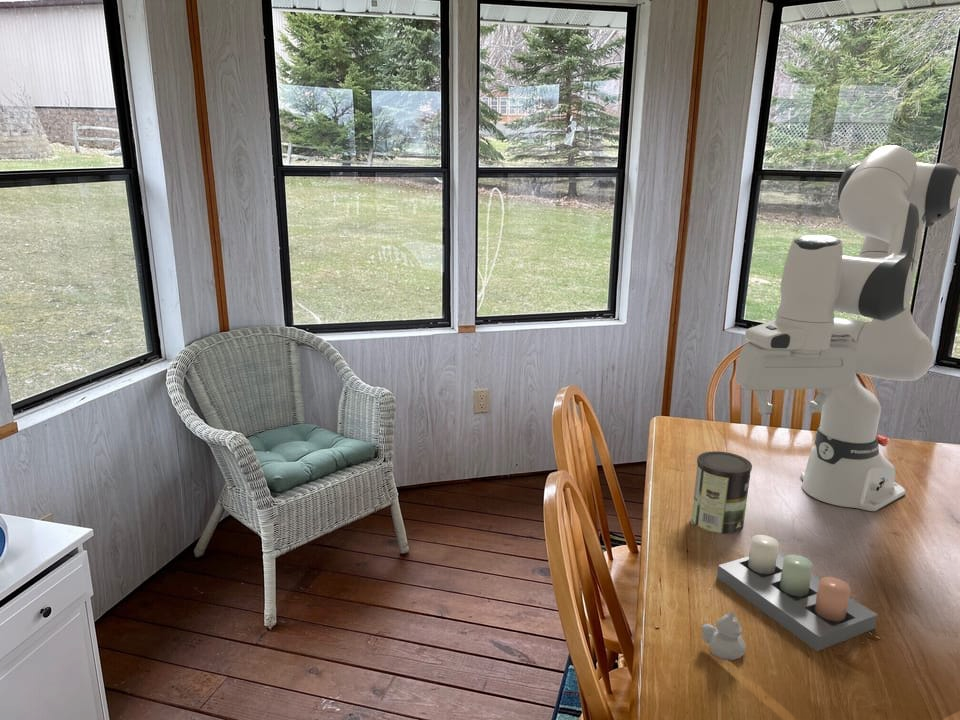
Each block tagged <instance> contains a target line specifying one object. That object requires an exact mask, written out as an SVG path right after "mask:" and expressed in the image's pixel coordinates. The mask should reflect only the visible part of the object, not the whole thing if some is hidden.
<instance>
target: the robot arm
mask: <svg viewBox="0 0 960 720" xmlns="http://www.w3.org/2000/svg"><path fill="white" fill-rule="evenodd" d="M839 179H840V180H839V182H838V184H837V189H836V190H837V191H836V193H837V203H838V211H839V214H840V217H841V218H842V220H843V222H845V224H846V225H847V226H848V227H849V228H850V229H851V230H852V231H854V232H856V233H858V234H860V235H863V236H865V238H864V239H863V242H862V245H861V248H860V251H859V253H858V255H857V256H856V255H849V254H848V255H847V254H844V253H843V251H844V249H843V242H842V241H841V239H839V238H837V237H835V236H833V235H828V234H827V235H826V234H805V235H801V236H798V237H797V238H794V239H793V240H792V242H791V244H790V246H789V249H788V252H787V255H786V258H785V262H784V266H783V270H782V271H783V272H782V275H781V281H780V288H779V289H780V294H781V295H780V296H781V297H780V304H779V306H778V308H777V310H776V315H775V319H772V320H770V321H769V320H768V322H767V321H766V322H764V323H761V324H758V325H755V326H752V327H749V328H746V330H745V334H744V338H745V340H746V341H748V342H747V343H746V344H744V345H743V347H742V348H741V350H740V352H739V356H738V361H737V366H736V371H735V381H736V383H737V384H738V386H739V387H742V388H743V389H745V390H747V391H754V395H755V397H756V399H757V401H758V408H757V410H758V413H759V414H761V415H771V414H772V412H773V411H772V410H773V404H772V403H770V402H768V400H767V397H768V396H769V395H770V391H773V390H774V391H777V390H779V391H780V390H781V391H785V390H787V391H788V390H789V391H790V390H792V391H793V390H816V392H818V393H817V395H816V396H815V397H814V399H813V400H809V402H808V408H807V409H808V412H809V413H812V414H821V415H820V423H819V426H818V428H817V429H816V432H815V438H814V445H813V446H812V447H811V449H810V452H809V456H808V459H807V463H806V466H805V471H802V472H801V473H800V478H801V480H802V483H801V488H802V490H803V491H804V492H805V493H806V494H807V495H809V496H810V497H812V498H814V499H815V500H818V501H821V502H823V503H827V504H829V505H835V506H838V507H843V508H845V507H846V508H853V509H855V508H856V509H860V510H864V511H869V512H876V511H878V510H880V509H881V508H883V507H885V506H887V505H888V504H890V503H892V502H894V501H895V500H897V499H899V498H901V497H903V496H905V494H906V489H905V488H904V487H903V486H902V485H900V484H899V483H897V482H895V479H896V468H895V466H894V465H893V464H892V463H891V462H890V460H888V459H887V458H886V457H884V455H882V454H881V453H880V447H879V445H880V446H881V447H886V446H887V445H888V444H889V438H888V437H886V436H882V435H880V434H878V435H877V433H878V427H879V422H880V418H881V412H882V407H881V403H880V401H879V399H878V398H877V396H876V395H875V394H873V393H872V392H871V391H870V390H868V389H867V388H866V387H864V386H863V385H862V384H861V383H860V381H859V379H858V378H857V375H864V376H866V377H867V376H869V377H874V378H878V379H883V380H888V381H906V382H907V381H912V382H913V381H917V380H919V379H920V378H922V377H923V376H924V375H925V374H926V373H928V371H929V370H930V369H931V366H932V364H933V362H934V358H935V357H934V356H935V353H934V346H933V344H932V342H931V340H930V339H929V337H928V335H926V334H925V333H924V332H923V331H922V330H921V328H920V327H919V326H918V325H917V324H916V322H915V320H914V318H913V315H912V312H911V307H910V302H911V298H912V295H913V289H914V288H913V287H914V277H915V272H916V270H917V266H918V263H919V262H918V261H919V258H920V254H921V250H922V249H921V247H922V242H923V241H922V240H923V227H924V226H923V222H925V225H926V228H930V227H932V226H933V225H934V224H935V223H936V222H937V221H941V220H943V219H944V218H946V217H947V216H948V215H949V214H950V213H951V212H952V211H953V210H954V209H955V206H956V205H957V203H958V201H959V200H960V170H958V168H957V167H955V166H953V165H950V164H945V163H940V162H937V163H936V164H935V163H928V162H919V161H918V162H917V159H916V158H915V156H914V154H913V153H912V151H910V150H908V149H907V148H905V147H903V146H901V145H900V146H899V145H891V144H888V145H884V146H881V147H878V148H876V149H874V150H873V151H871V152H870V153H869V154H868V155H866V157H865V158H864V159H863V160H862V161H861V162H860V163H855V164H853V165H851V166H849V167H848V168H846V169H845V170H844V171H843V173H842V174H841V177H840V178H839ZM835 312H836V313H845V314H853V315H858V316H862V317H865V318H870V319H872V320H871V321H862V320H855V319H849V318H842V317H837V316H836V317H835ZM766 396H767V397H766Z"/></svg>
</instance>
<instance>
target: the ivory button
mask: <svg viewBox="0 0 960 720" xmlns="http://www.w3.org/2000/svg"><path fill="white" fill-rule="evenodd" d="M779 546H780V542H779V541H778V540H777V539H775V538H774V537H772V536H769V535H767V534H765V535H764V534H756V535H753V536H752V537H751V541H750V547H749V548H750V549H749V555H748V556H749V561H748V566H749V568H750V569H752V570H753V571H755V572H757V573H761V574H771V573H773V572H774V571H775V567H776V560H777V554H778V552H779Z"/></svg>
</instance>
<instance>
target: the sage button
mask: <svg viewBox="0 0 960 720" xmlns="http://www.w3.org/2000/svg"><path fill="white" fill-rule="evenodd" d="M784 556H785V557H784V560H783V567H782V573H781V580H780V588H781V589H782V590H783V591H784V592H785V593H787V594H789V595H792V596H798V597H802V596H806V595H807V594H808V592H809V586H810V580H811V574H813V566H814V563H813V562H812V561H811V560H810V559H809V558H807V557H804V556H802V555H799V554H798V555H797V554H788V555H784Z"/></svg>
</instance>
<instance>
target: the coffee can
mask: <svg viewBox="0 0 960 720" xmlns="http://www.w3.org/2000/svg"><path fill="white" fill-rule="evenodd" d="M696 463H697V464H696V471H695V472H696V475H695V484H694V493H693V503H692V511H691V518H690V523H691V525H694V524H695V525H696V526H697V527H699V528H701V529H702V530H704V531H707V532H710V533H716V534H720V535H721V534H724V535H726V534H727V535H728V534H735V533H738V532H740V531H742V530H743V529H744V526H745V524H744V523H745V516H746V509H747V501H748V494H749V493H748V492H749V486H750V479H751V472H752V469H753V465H752V463H751V461H749V460H748V459H747V458H745V457H744V456H742V455H738V454H736V453H732V452H727V451H706V452H702V453H700V454H699V455H698V456H697V459H696Z"/></svg>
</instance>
